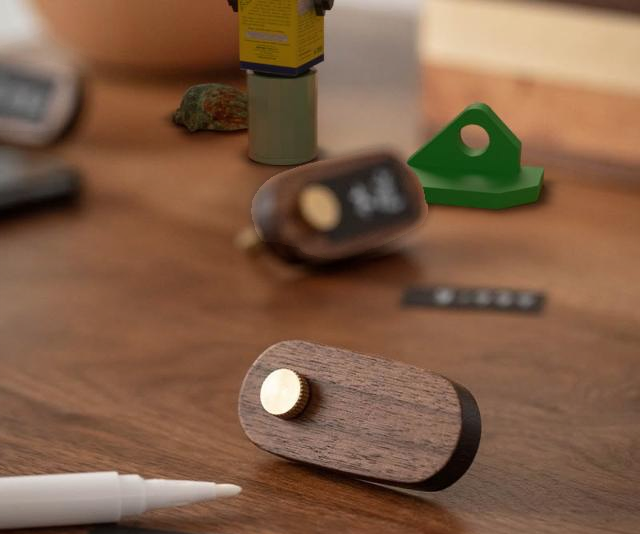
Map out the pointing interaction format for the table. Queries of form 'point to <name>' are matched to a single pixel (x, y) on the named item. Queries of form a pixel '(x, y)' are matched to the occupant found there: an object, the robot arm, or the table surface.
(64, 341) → the table surface
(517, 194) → the bracket
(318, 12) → the robot arm
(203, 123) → the seashell
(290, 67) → the supplement box
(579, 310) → the table surface
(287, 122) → the cup
